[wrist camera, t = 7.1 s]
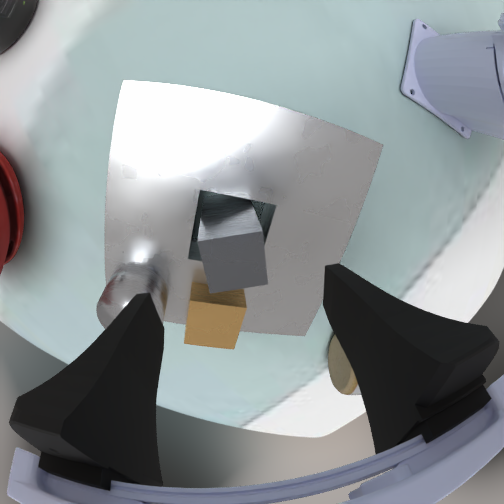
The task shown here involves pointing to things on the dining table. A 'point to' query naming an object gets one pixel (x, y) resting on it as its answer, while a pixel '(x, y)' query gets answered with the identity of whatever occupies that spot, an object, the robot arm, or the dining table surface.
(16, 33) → the supplement bottle
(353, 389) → the ceramic mug
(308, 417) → the dining table surface
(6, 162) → the plant pot
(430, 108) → the robot arm
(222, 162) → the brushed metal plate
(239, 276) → the metal block
